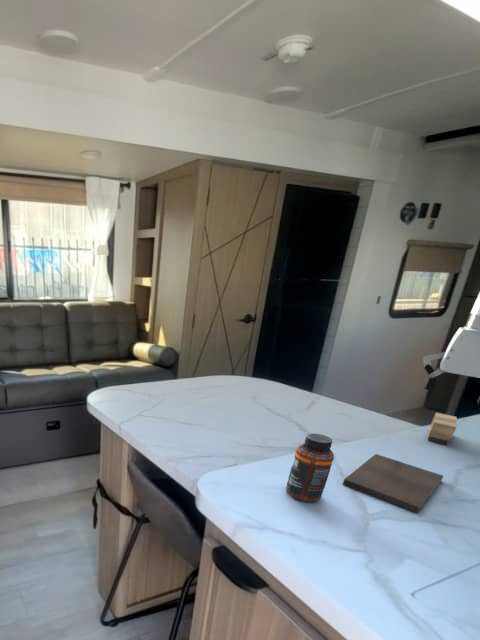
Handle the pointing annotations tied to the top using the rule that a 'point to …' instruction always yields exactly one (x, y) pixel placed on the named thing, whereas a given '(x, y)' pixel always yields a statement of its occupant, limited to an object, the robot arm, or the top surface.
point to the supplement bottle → (310, 468)
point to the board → (394, 482)
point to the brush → (442, 428)
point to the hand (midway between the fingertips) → (453, 398)
